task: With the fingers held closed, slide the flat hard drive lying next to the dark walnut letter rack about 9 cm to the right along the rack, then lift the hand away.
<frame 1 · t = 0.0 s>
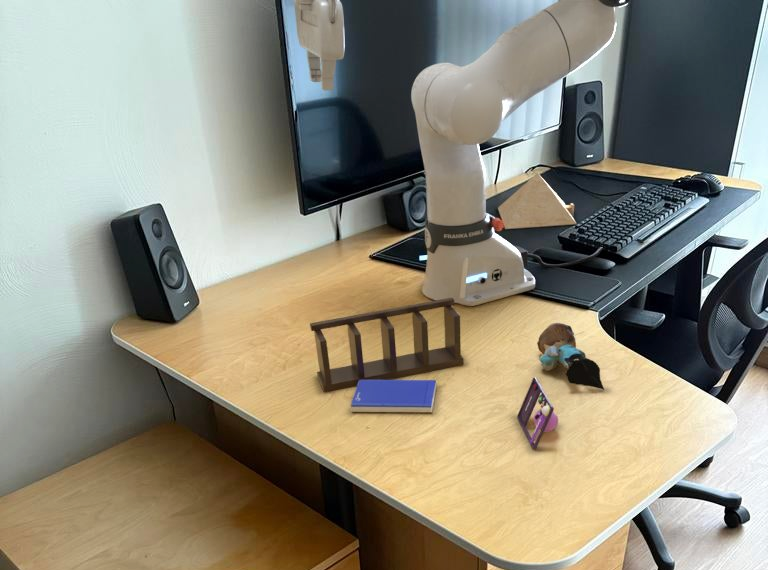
hand: (321, 85, 126), 39 cm above the table, tool pointing down, fingers open, 8 cm apart
figurine: (564, 373, 123), on the table
hard drive: (394, 401, 120), on the table
letter rack: (390, 371, 128), on the table
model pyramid: (537, 216, 186), on the table
purple toy package: (540, 432, 110), on the table
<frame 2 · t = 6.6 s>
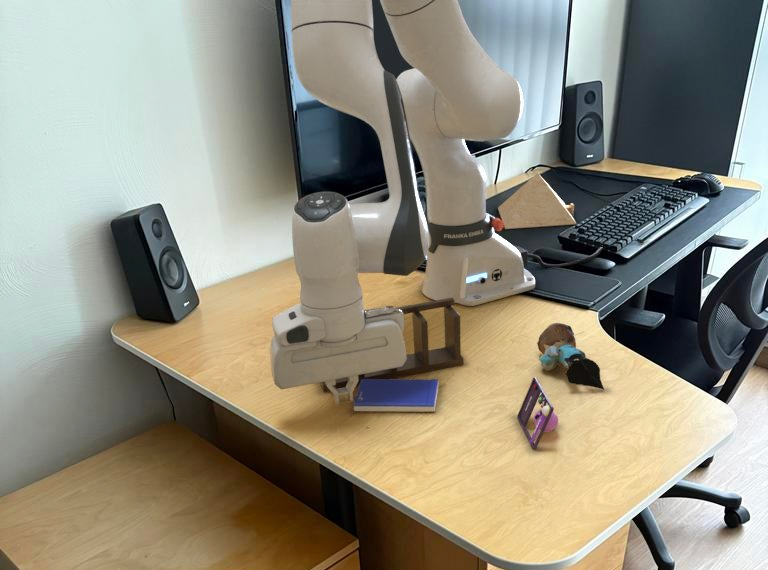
hand: (343, 400, 118), 2 cm above the table, tool pointing down, fingers closed
hard drive: (397, 400, 120), on the table, touching gripper
everything else where it was.
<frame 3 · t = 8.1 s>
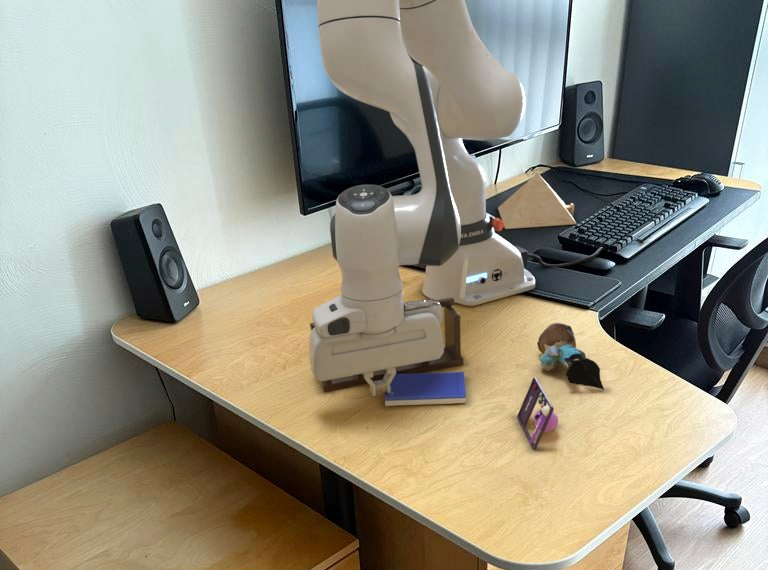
hand: (380, 393, 119), 2 cm above the table, tool pointing down, fingers closed
hard drive: (425, 393, 121), on the table, touching gripper
everything else where it was.
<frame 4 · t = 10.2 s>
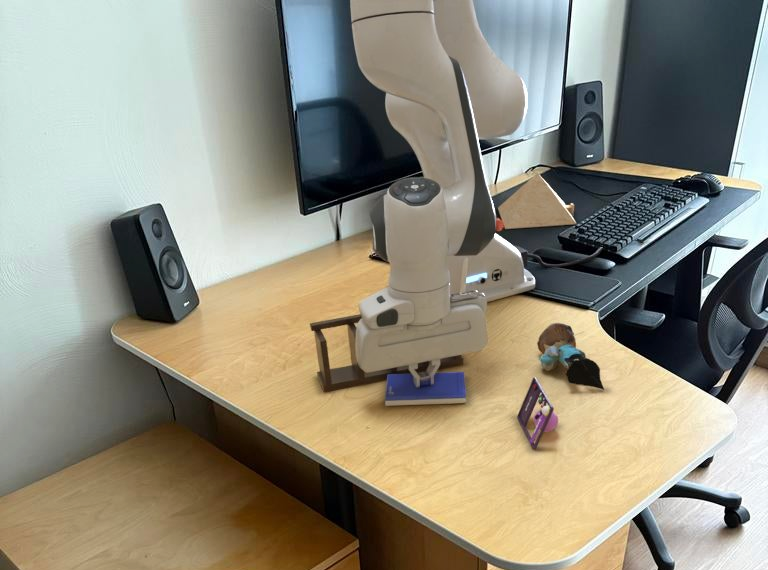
hand: (423, 384, 120), 2 cm above the table, tool pointing down, fingers closed, pressing on hard drive
hard drive: (425, 393, 121), on the table, touching gripper
everything else where it was.
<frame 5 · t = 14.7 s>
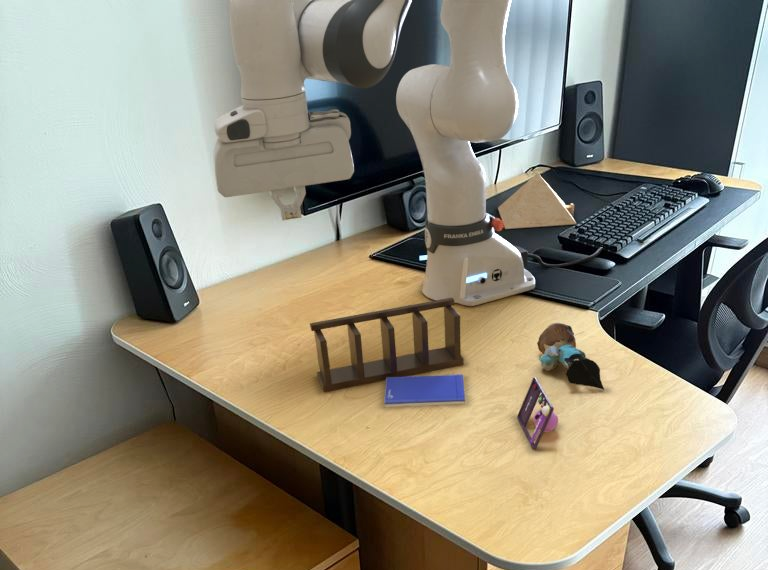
hand: (291, 218, 116), 25 cm above the table, tool pointing down, fingers closed
hard drive: (424, 396, 122), on the table
everything else where it was.
at the end: hard drive inside the target area (4.4 cm from its centre), on the table; hard drive moved 5.1 cm from its start; hard drive tilted 0° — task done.
